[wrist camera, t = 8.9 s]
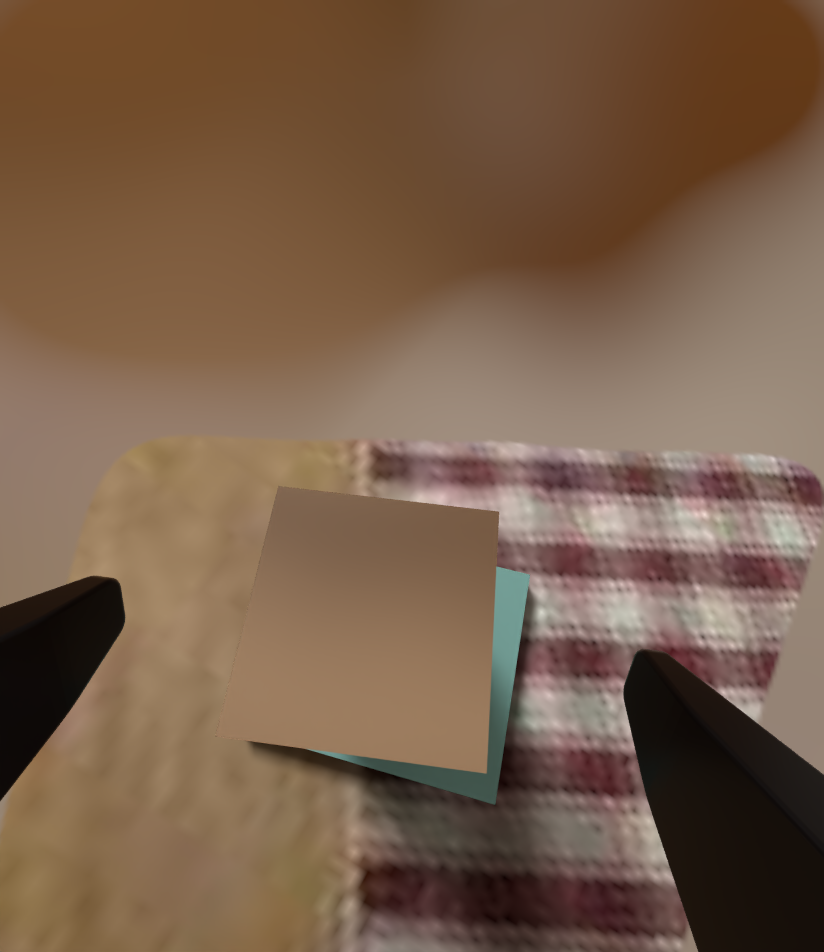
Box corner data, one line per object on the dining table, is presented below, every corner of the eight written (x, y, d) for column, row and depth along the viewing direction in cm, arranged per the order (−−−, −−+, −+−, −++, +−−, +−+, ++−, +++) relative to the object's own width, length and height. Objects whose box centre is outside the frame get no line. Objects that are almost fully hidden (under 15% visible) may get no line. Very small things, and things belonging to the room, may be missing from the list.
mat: (491, 798, 16) (495, 805, 15) (240, 725, 16) (232, 727, 16) (525, 578, 19) (530, 574, 18) (311, 525, 19) (307, 519, 19)
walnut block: (440, 716, 16) (486, 773, 7) (325, 701, 16) (215, 736, 7) (450, 597, 17) (499, 511, 8) (345, 584, 18) (278, 485, 8)
